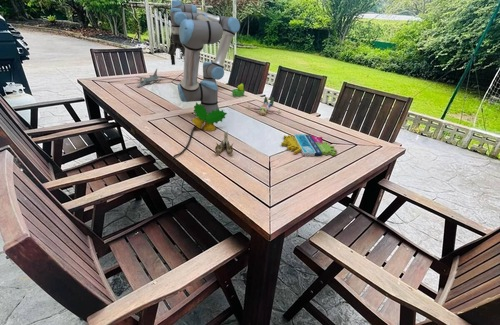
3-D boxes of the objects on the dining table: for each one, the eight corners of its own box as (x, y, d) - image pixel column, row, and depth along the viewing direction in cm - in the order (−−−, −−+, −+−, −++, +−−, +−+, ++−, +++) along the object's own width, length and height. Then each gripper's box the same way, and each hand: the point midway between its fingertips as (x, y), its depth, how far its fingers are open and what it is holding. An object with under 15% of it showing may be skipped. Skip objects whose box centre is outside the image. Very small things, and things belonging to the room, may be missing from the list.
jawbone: (234, 135, 144) (233, 125, 135) (233, 160, 138) (232, 151, 129) (217, 135, 144) (216, 125, 135) (216, 160, 138) (214, 150, 129)
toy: (286, 98, 212) (281, 108, 186) (285, 107, 216) (280, 118, 190) (253, 94, 217) (244, 103, 191) (252, 103, 221) (243, 112, 195)
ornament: (218, 133, 171) (224, 110, 169) (221, 134, 163) (227, 111, 161) (186, 125, 162) (192, 101, 160) (189, 126, 155) (195, 101, 153)
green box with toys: (239, 93, 243) (239, 81, 238) (246, 95, 239) (247, 83, 233) (231, 95, 235) (231, 83, 229) (238, 97, 231) (239, 84, 225)
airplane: (130, 79, 264) (128, 69, 259) (162, 77, 277) (161, 68, 272) (135, 89, 236) (133, 78, 230) (170, 87, 249) (169, 76, 244)
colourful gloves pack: (340, 153, 140) (285, 152, 138) (339, 156, 141) (285, 155, 138) (325, 134, 163) (277, 133, 160) (324, 137, 163) (277, 136, 161)
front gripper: (161, 32, 184) (164, 64, 194) (186, 35, 172) (187, 69, 183) (169, 32, 190) (172, 63, 200) (194, 35, 178) (195, 68, 188)
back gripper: (163, 22, 209) (166, 50, 219) (184, 24, 196) (186, 54, 207) (171, 22, 214) (173, 50, 225) (192, 24, 202) (193, 53, 212)
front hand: (179, 66), depth 191 cm, fingers open, 13 cm apart
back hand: (179, 52), depth 216 cm, fingers open, 13 cm apart
